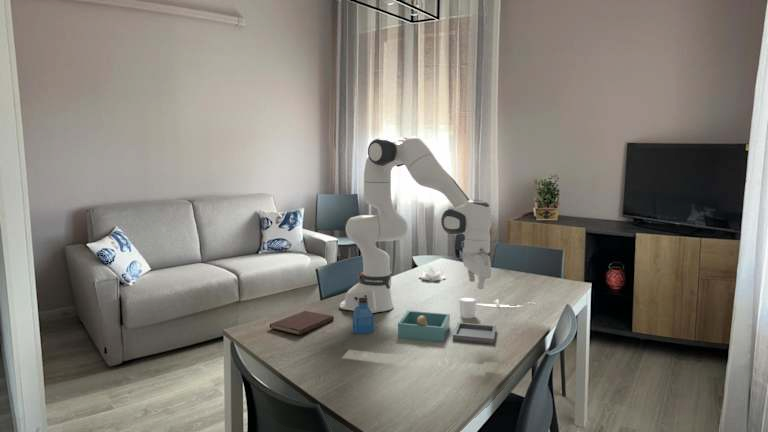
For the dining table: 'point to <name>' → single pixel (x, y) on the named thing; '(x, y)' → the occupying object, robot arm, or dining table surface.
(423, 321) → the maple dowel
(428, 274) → the lotus flower
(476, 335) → the charcoal tray
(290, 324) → the notebook
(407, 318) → the shallow teal crate
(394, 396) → the dining table surface
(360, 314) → the perfume bottle
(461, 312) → the white cylinder
